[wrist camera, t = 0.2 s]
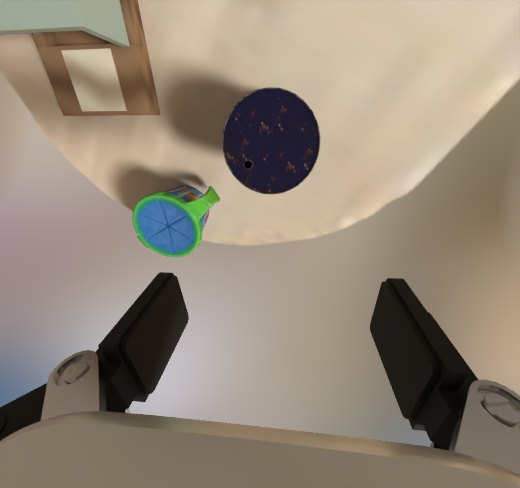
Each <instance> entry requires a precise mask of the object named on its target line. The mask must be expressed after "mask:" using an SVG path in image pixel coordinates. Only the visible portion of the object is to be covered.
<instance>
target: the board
mask: <svg viewBox="0 0 520 488" xmlns="http://www.w3.org/2000/svg"><path fill="white" fill-rule="evenodd" d="M119 1H120V6H121V10H122V14H123V19H124V23H125V28H126V32H127V36H128V41H129V45H130V47H121V46H118V45H116V44H114V43H111V42H109V41H106V40H104V39H102V38H99V37H97V36H94V35H92V34H90V33H87V32H85V31H82V30H76V31H57V32H38V33H32V35H33V38H34V40H35V43H36V46H37V48H38V51H39V53H40V56H41V59H42V61H43V64H44V66H45V69H46V71H47V74H48V77H49V79H50V82H51V84H52V87H53V89H54V92H55V95H56V97H57V100H58V102H59V105H60V108H61V110H62V113H63V115H64V116H89V115H160V111H159V106H158V101H157V96H156V91H155V86H154V81H153V76H152V71H151V66H150V61H149V56H148V51H147V46H146V41H145V36H144V31H143V26H142V21H141V16H140V11H139V6H138V1H137V0H119Z"/></svg>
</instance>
